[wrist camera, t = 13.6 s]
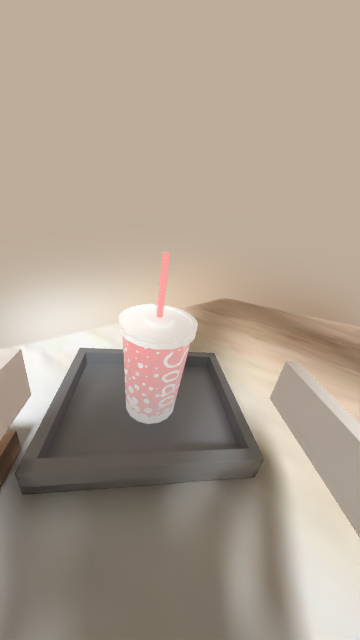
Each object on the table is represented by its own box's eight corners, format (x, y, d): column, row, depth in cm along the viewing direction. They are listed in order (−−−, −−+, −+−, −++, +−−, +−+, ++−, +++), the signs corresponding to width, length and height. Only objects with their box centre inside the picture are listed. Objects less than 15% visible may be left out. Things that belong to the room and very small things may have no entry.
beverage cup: (124, 441, 16) (130, 258, 10) (112, 386, 21) (112, 241, 15) (193, 420, 19) (230, 265, 13) (168, 376, 24) (187, 248, 18)
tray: (210, 367, 28) (214, 353, 27) (254, 476, 16) (263, 458, 15) (81, 364, 25) (80, 347, 24) (22, 494, 13) (15, 473, 12)
